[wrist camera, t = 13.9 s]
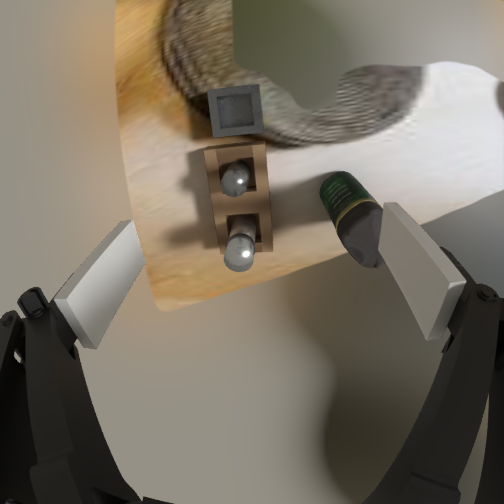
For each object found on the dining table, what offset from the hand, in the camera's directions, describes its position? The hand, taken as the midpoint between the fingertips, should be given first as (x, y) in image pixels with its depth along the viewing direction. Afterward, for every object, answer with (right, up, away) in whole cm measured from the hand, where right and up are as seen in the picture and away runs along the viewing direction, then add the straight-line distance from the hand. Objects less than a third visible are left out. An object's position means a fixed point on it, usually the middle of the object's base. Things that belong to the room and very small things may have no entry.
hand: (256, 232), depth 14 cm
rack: (-2, +9, +37) cm, 39 cm away
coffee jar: (+17, +10, +36) cm, 41 cm away
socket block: (-3, +23, +29) cm, 37 cm away
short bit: (-3, +13, +34) cm, 37 cm away
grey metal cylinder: (-2, +5, +39) cm, 39 cm away
